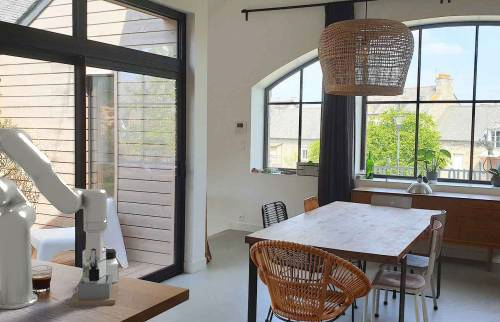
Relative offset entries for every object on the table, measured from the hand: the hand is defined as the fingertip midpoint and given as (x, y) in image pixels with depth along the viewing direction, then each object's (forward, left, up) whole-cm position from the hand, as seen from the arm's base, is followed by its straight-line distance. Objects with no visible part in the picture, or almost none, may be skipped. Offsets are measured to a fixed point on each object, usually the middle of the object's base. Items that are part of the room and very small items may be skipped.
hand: (95, 276), depth 168 cm
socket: (0, 0, -7) cm, 7 cm away
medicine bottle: (+2, +19, -8) cm, 21 cm away
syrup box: (0, 0, -5) cm, 5 cm away
